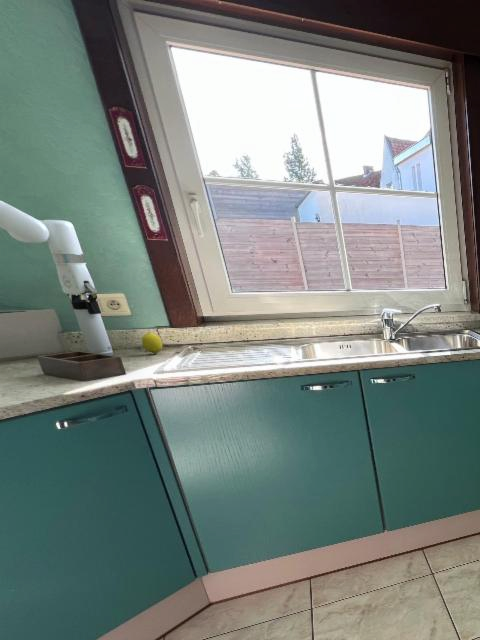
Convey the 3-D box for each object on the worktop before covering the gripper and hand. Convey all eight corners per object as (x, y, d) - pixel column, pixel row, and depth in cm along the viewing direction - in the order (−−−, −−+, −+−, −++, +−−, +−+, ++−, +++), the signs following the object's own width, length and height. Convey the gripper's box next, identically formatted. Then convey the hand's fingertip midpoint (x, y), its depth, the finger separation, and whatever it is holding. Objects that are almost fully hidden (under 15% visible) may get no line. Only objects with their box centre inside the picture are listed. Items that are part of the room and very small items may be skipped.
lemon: (149, 356, 181) (142, 334, 178) (143, 354, 184) (136, 332, 181) (167, 353, 185) (161, 332, 182) (161, 352, 188) (155, 331, 185)
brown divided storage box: (84, 381, 147) (77, 362, 144) (43, 374, 153) (36, 356, 151) (126, 374, 156) (120, 356, 154) (86, 367, 162) (80, 350, 160)
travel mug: (118, 355, 181) (99, 298, 174) (95, 358, 175) (75, 300, 168) (109, 353, 183) (90, 297, 176) (86, 356, 178) (66, 298, 170)
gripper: (39, 258, 166) (59, 312, 173) (71, 260, 161) (90, 315, 168) (68, 258, 173) (86, 310, 180) (99, 260, 168) (116, 313, 174)
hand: (88, 312), depth 174 cm, fingers open, 7 cm apart
